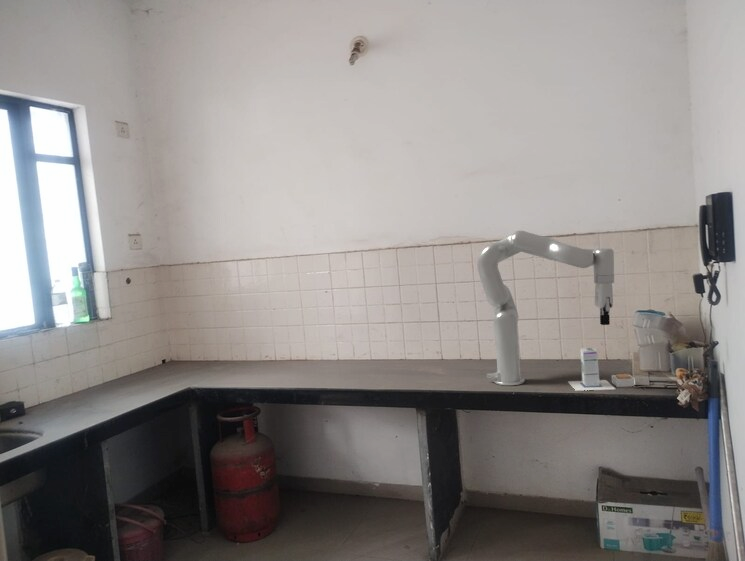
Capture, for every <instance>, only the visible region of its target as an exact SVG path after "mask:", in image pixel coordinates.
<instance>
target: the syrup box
mask: <svg viewBox="0 0 745 561" xmlns="http://www.w3.org/2000/svg"><path fill="white" fill-rule="evenodd" d="M579 349H580V350H579V352H580V368H581V381H582V383H583V384H584V385H585V386H586V387H593V386H600V383H599V380H600V370H599V358H598V357H599V356H598V350H597V349H596V348H595V347H586V348H585V347H583V348H579Z"/></svg>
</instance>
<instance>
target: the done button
mask: <svg viewBox="0 0 745 561" xmlns="http://www.w3.org/2000/svg"><path fill="white" fill-rule="evenodd" d="M615 375H616V377H617V378H618V379H628V378H631V376H632V375H631V376H629V375H630V374H628V373H617V374H615Z"/></svg>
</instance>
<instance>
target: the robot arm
mask: <svg viewBox="0 0 745 561" xmlns="http://www.w3.org/2000/svg"><path fill="white" fill-rule="evenodd" d="M521 252H522V253H525V254H528V255H532V256H536V257H539V258H542V259H547V260H550V261H555V262H558V263H562V264H565V265H569V266H572V267H576V268H580V269H587V268H589V267H593V283H594V284H595V288H594V306H595V307H597V308H599V321H600V322H599V324H600V325H601V326H608V325H609V326H610V322H611V320H610V313H611V312H610V311H611V309H612V308H613V306H614V293H613V284H614V283H615V255H614V254H615V252H614V250H613V249H612V248H596V249H594V248H593V249H592V248H591V249H590V248H580V247H578V246H577V247H576V246H573V245H570V244H566V243H563V242H561V241H558V240H556V239H554V238H552V237H547V236H543V235H539V234H535V233H532V232H528V231H525V230H517V231H515V232H513V233H511V234H510V235H508V236H507V237H505V238H503V239H501V240H498V241H496V242H493V243H490V244H487V246H486V247H484V249H483V250H482V251H481V252H480V254H479V256H478V258H477V263H476V264H477V272H478V275H479V278H480V281H481V284H482V288H483V291H484V294H485V297H486V300H487V302H488V304H489V305H490V306H491V307H492V309H493V312H494V314H495V315H494V318H493V329H494V330H493V331H494V332H493V333H494V339H495V354H496V366H497V367H496V368H497V369H496V370H495V371H496V372H493V373H486V378H487V379H490V380H491V379H493V380H494V383H495V384H497V385H499V386H518V385H522V384H524V383H525V378H524V377H521V363H520V345H519V332H518V321H519V318H520V316H519V313H518V312H519V311H518V310H517V307H516V304H515V300H514V298H513V296H512V293H511V290H510V288H509V287H508V286H507V285H505V284H504V281H503V279H502V276H501V272H500V270H499V267H498V265H499V263H500V262H503V261H505V260H507V259H509V258H511V257H513V256H515V255H517V254H519V253H521Z"/></svg>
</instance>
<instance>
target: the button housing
mask: <svg viewBox="0 0 745 561" xmlns="http://www.w3.org/2000/svg"><path fill="white" fill-rule="evenodd" d="M628 375H629V376H631V378H628V379H618V378H617V377H616V374H612V375H611V383H612V385H613V386H615V388H616V387H617V388H628V387H631V388H632V386H633V387H635V386H634V379H633V377H634V376H632V375H631V374H628Z"/></svg>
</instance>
